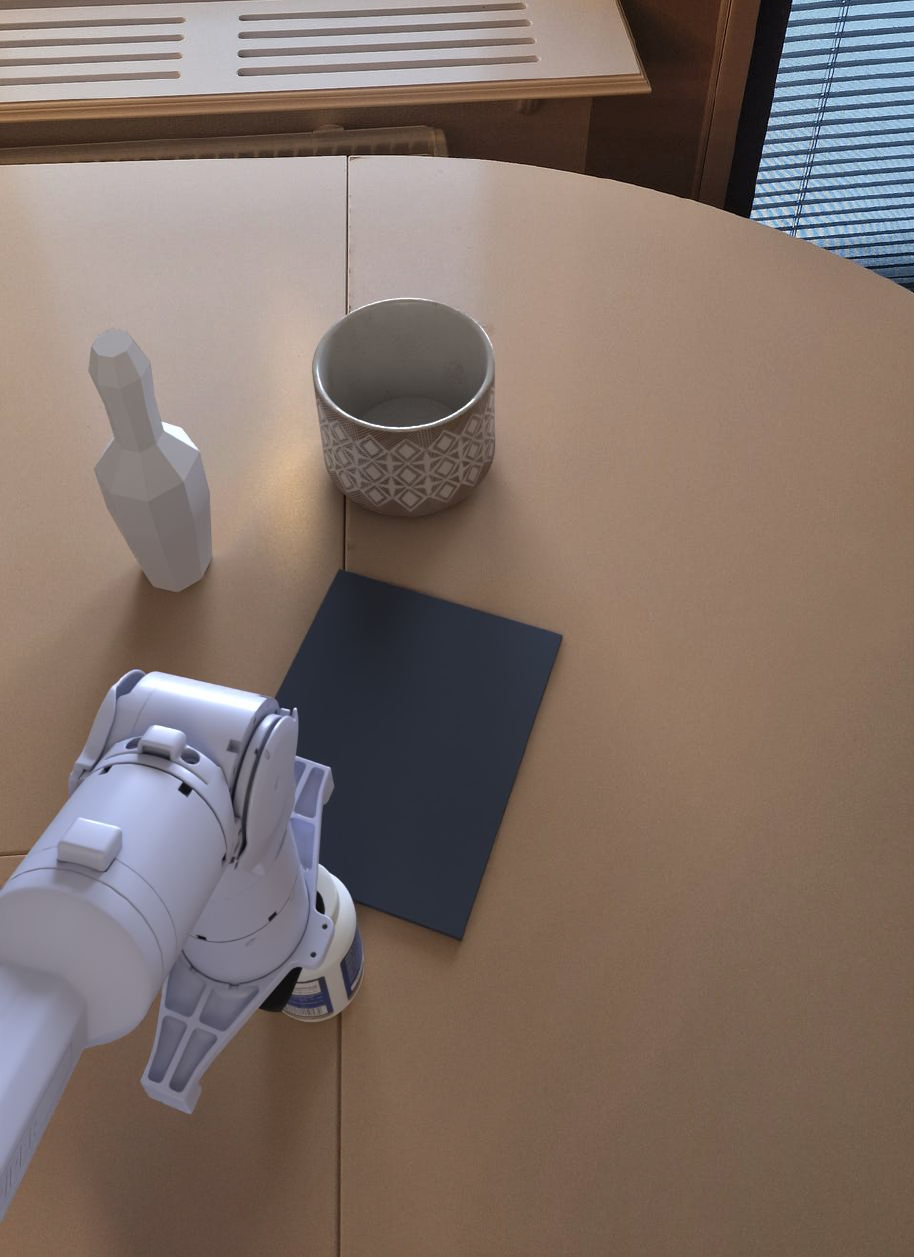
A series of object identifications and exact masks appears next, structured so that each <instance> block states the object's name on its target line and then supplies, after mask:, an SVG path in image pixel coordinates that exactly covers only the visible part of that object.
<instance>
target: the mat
mask: <svg viewBox="0 0 914 1257" xmlns="http://www.w3.org/2000/svg"><path fill="white" fill-rule="evenodd" d="M563 637H564V635H563V634H561V633H558V632H555V631H551V630H548V629H545V628H541V627H538V626H534V625H531V624H528V623H526V622H525V623H524V622H521V621H518V620H514V619H512V618H507V617H505V616H501V615H497V614H494V613H490V612H488V611H484V610H481V609H477V608H474V607H470V606H467V605H463V604H460V603H457V602H454V601H450V600H447V599H444V598H441V597H436V596H433V595H430V594H428V593H427V594H426V593H423V592H420V591H417V590H413V589H409V588H408V587H407V588H406V587H403V586H400V585H396V584H392V583H389V582H387V581H383V580H380V579H376V578H373V577H370V576H366V575H362V574H360V573H356V572H352V571H350V570H346V569H342V568H338V569H337V571H336V573H335V576H334V578H333V579H332V582H331V583H330V585H329V588H328V589H327V592H326V594H325V596H324V598H323V600H322V602H321V603H320V605H319V608H318V610H317V612H316V613H315V616H314V618H313V619H312V622H311V624H310V625H309V628H308V629H307V631H306V634H305V636H304V638H303V640H302V642H301V644H300V646H299V648H298V650H297V652H296V654H295V655H294V658H293V660H292V662H291V664H290V666H289V668H288V670H287V672H286V674H285V676H284V678H283V679H282V682H281V684H280V686H279V688H278V690H277V693H276V694H275V697H274V698H275V699H276V700H277V702H278V705H279V708H280V709H281V708H284V709H288V710H290V712H291V716H292V712H293V710H294V708H297V713H298V740H297V749H296V756H298V757H301V758H304V759H306V760H309V761H312V762H315V763H318V764H321V765H324V766H327V767H330V768H331V772H332V778H333V783H334V789H333V791H332V793H331V796H330V798H329V800H328V802H327V803H326V804H324V805H323V810H322V821H321V835H320V850H319V864H320V865H322V866H323V867H324V868H325V869H326V870H327V871H328V872H329V873H331V874H332V875H334V876H335V877H336V878H338V879H339V880H340V881H341V882H342V883H343V885H344V886H345V887H346V889H347V890H348V892H349V894H350V896H351V898H352V901H353V903H356V904H359V905H361V906H364V907H367V908H369V909H372V910H374V911H377V912H380V913H383V914H385V915H388V916H391V917H394V918H396V919H399V920H401V921H405V922H407V923H410V924H413V925H415V926H418V927H421V928H424V929H426V930H428V931H431V932H435V933H437V934H440V935H442V936H445V937H448V938H451V939H453V940H456V941H459V942H462V941H463V938H464V934H465V932H466V929H467V926H468V923H469V920H470V917H471V914H472V911H473V908H474V905H475V902H476V899H477V896H478V893H479V890H480V887H481V884H482V881H483V878H484V875H485V872H486V869H487V866H488V864H489V860H490V857H491V855H492V851H493V849H494V848H493V847H494V845H495V841H496V839H497V837H498V833H499V831H500V827H501V824H502V821H503V818H504V816H505V812H506V809H507V807H508V803H509V800H510V797H511V794H512V792H513V788H514V784H515V782H516V779H517V776H518V773H519V770H520V767H521V764H522V761H523V758H524V755H525V752H526V749H527V746H528V743H529V740H530V737H531V734H532V732H533V728H534V725H535V723H536V719H537V716H538V713H539V710H540V707H541V705H542V701H543V698H544V695H545V692H546V689H547V686H548V683H549V680H550V677H551V675H552V672H553V668H554V665H555V662H556V659H557V655H558V653H559V650H560V647H561V645H562V641H563Z"/></svg>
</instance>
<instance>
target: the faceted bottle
mask: <svg viewBox="0 0 914 1257" xmlns="http://www.w3.org/2000/svg"><path fill="white" fill-rule="evenodd" d="M89 354H90V355H89V362H88V370H87V371H88V374H89V375H90V378H91V380H92V382H93V385H94V387H95V388H96V391H97V392H98V396H99V397H100V399H101V401H102V403H103V406H104V409H105V412H106V415H107V418H108V421H109V424H110V428H111V431H112V435H113V436H112V437H111V439H110V440H109V442H108V443H107V446H106V447H105V448H104V451H103V452H102V453H101V455H100V457H99V459H98V461H97V462H96V464H95V465H94V467H93V470H94V473H95V477H96V480H97V482H98V485H99V488H100V492H101V495H102V497H103V500H104V503H105V507H106V509H107V511H108V513H109V515H110V516H111V517H112V520H113V521H114V523H115V525H116V527H117V528H118V531H119V532H120V534H121V536H122V537H123V539H124V540H125V542H126V544H127V547H128V548H129V549H130V551H131V553H132V555H133V556H134V558H135V561H136V562H137V564H138V565H139V567H140V569H141V570H142V572H143V573H144V575H145V576H146V578H147V579H148V581H149V582H150V584H151V586H152V587H153V588H157V589H161V590H167V591H169V592H173V593H180V592H182V591H183V590H185V589H187V588H188V587H190V586H191V585H194V584H195V583H197V582H198V581H200V580H202V579H203V578H204V575H205V572H206V571H207V569H208V567H209V565H210V563H211V561H212V559H213V539H212V538H213V537H212V514H211V492H210V488H209V484H208V479H207V476H206V472H205V468H204V467H205V466H204V463H203V460H202V456H201V455H202V454H201V450H199V448H198V447H197V446H196V445H195V443H194V442H193V440H191V438H190V437H189V436H188V434H187V433H186V432H185V431H184V429H183V428H182V427H180V426H177V425H174V424H171V423H167V422H164V421H162V418H161V414H160V411H159V407H158V402H157V399H156V395H155V386H154V379H153V370H152V362H151V360H150V359H149V358H148V356H147V355H146V353H145V352H144V351H143V350H142V348H141V347H140V346H139V344H138V343H137V342H136V340H135V339H134V338H133V336H132V335H131V334H130V333H129V332H128V330H126V329H120V328H114V327H112V328H110V329H108V330H105V331H103V332H101V333H99V334H98V335H97V336H96V338H95V339H94V341H93V342H92V344H91V345H90V352H89Z"/></svg>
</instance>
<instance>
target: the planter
mask: <svg viewBox="0 0 914 1257" xmlns="http://www.w3.org/2000/svg"><path fill="white" fill-rule="evenodd" d="M311 363H312V364H311V375H312V383H313V391H314V397H315V404H316V410H317V416H318V425H319V431H320V438H321V445H322V453H323V460H324V464H325V467H326V471H327V473H328V475H329V477H330V479H331V480H332V482H333V483H334V485H335V486H336V487H337V488H338V490H339V491H340V492H341V493H342V494H343V495H344V496H346V497H347V498H348V499H349V500H351V501H352V502H354V503H355V504H357V505H359V506H361V507H363V508H364V509H367V510H370V511H373V512H375V513H379V514H383V515H389V516H394V517H416V516H418V517H419V516H424V515H430V514H434V513H437V512H440V511H443V510H446V509H448V508H450V507H453V506H454V505H457V504H458V503H459V502H462V501H463V500H465V499H466V498H467V497H469V496H470V495H471V494H472V493H473V492H474V491H475V490H476V489H477V488H478V487H479V486H480V485H481V484H482V483H483V481H484V480H485V478H486V476H487V475H488V473H489V471H490V469H491V468H492V464H493V461H494V457H495V453H496V355H495V350H494V347H493V344H492V341H491V339H490V338H489V336H488V334H487V332H486V331H485V330H484V328H483V327H482V326H481V325H480V324H479V323H478V322H477V321H476V320H475V319H474V318H472V317H471V316H470V315H469V314H467V313H465V312H464V311H462V310H460V309H458V308H456V307H454V306H452V305H449V304H447V303H443V302H440V301H436V300H432V299H425V298H419V297H418V298H417V297H400V298H399V297H398V298H392V299H391V298H390V299H384V300H379V301H374V302H372V303H368V304H366V305H363V306H360V307H359V308H356V309H355V310H352V311H350V312H348V313H346V314H345V315H344V316H342V317H341V318H340V319H338V320H337V321H336V322H335V323H334V324H332V325H331V326H330V327H329V328H328V329H327V331H325V333H324V334H323V336H322V337H321V338H320V340H319V341H318V344H317V345H316V348H315V350H314V354H313V356H312V361H311Z"/></svg>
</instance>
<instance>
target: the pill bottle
mask: <svg viewBox="0 0 914 1257" xmlns="http://www.w3.org/2000/svg"><path fill="white" fill-rule="evenodd" d="M317 891H318V892H319V893H320V894H321V896H322V898H323V901H324V905H325V914H324V915H325V916H327V917H329V918H330V919H331V920H332V922H333V925H334V928H335V933H334V938H333V940H332V943H331V945H330V948H329V950H328V953H327V955H326V958H325V960H324V962H323V964H322V965H321V967H320V968H318V969H316V970H308V969H305V968H303V969H302V971H301V973H300V976H299V978H298V981H297V983H296V986H295V988H294V991H293V993H292V995H291V997H290V999H289V1001H288V1003H287V1004H286V1006H285V1007H284V1009H283V1010H282V1011H281V1012H283V1014H285V1015H287V1016H288V1017H290V1018H292V1019H294V1020H296V1021H301V1022H306V1023H317V1022H323V1021H326V1020H330V1019H332V1018H334V1017H335V1016H337V1015H339V1014H340V1013H341V1012H342V1011H344V1010H345V1009H346V1008H347V1007H348V1006H349V1005H350V1004H351V1003H352V1002H353V1000H354V998H355V997H356V996H357V994H358V992H359V990H360V988H361V985H362V984H363V983H362V982H363V979H364V974H365V954H364V949H363V944H362V938H361V933H360V928H359V922H358V918H357V912H356V909H355V904H354V902H353V901H352V898H351V896H350V894H349V892H348V890H347V889H346V887H345V886H344V885H343V883H342V882H341V881H340V880H339V879H338V878H336V877H335V876H334V875H332V874H331V873H329V872H328V871H327V870H326V869H325V868H324V867H323V866H322V865H320V864H318V879H317Z"/></svg>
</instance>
